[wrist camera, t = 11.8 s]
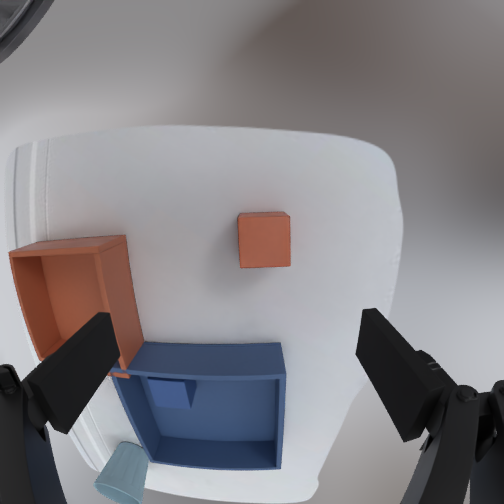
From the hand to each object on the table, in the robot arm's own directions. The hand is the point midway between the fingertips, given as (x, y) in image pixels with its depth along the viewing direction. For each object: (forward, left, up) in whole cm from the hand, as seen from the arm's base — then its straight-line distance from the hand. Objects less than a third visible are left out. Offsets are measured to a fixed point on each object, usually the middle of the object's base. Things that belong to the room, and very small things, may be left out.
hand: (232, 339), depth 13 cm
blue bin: (+17, -5, -13) cm, 22 cm away
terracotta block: (-3, +2, -13) cm, 14 cm away
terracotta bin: (+3, -18, -13) cm, 22 cm away
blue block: (+12, -8, -13) cm, 19 cm away
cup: (+32, -20, -13) cm, 40 cm away
